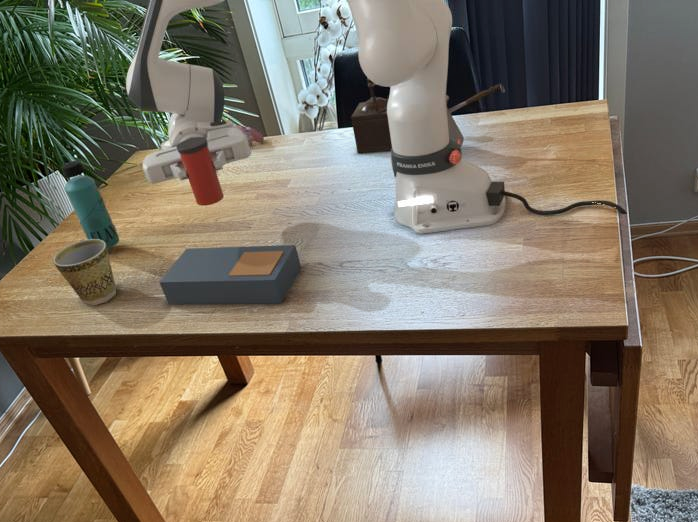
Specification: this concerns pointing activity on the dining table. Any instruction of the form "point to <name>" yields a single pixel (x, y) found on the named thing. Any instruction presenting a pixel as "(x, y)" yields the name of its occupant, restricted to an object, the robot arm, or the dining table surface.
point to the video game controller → (251, 134)
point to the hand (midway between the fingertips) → (201, 170)
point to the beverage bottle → (89, 205)
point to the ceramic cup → (87, 270)
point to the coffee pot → (452, 126)
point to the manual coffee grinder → (372, 124)
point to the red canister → (200, 170)
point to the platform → (232, 275)
